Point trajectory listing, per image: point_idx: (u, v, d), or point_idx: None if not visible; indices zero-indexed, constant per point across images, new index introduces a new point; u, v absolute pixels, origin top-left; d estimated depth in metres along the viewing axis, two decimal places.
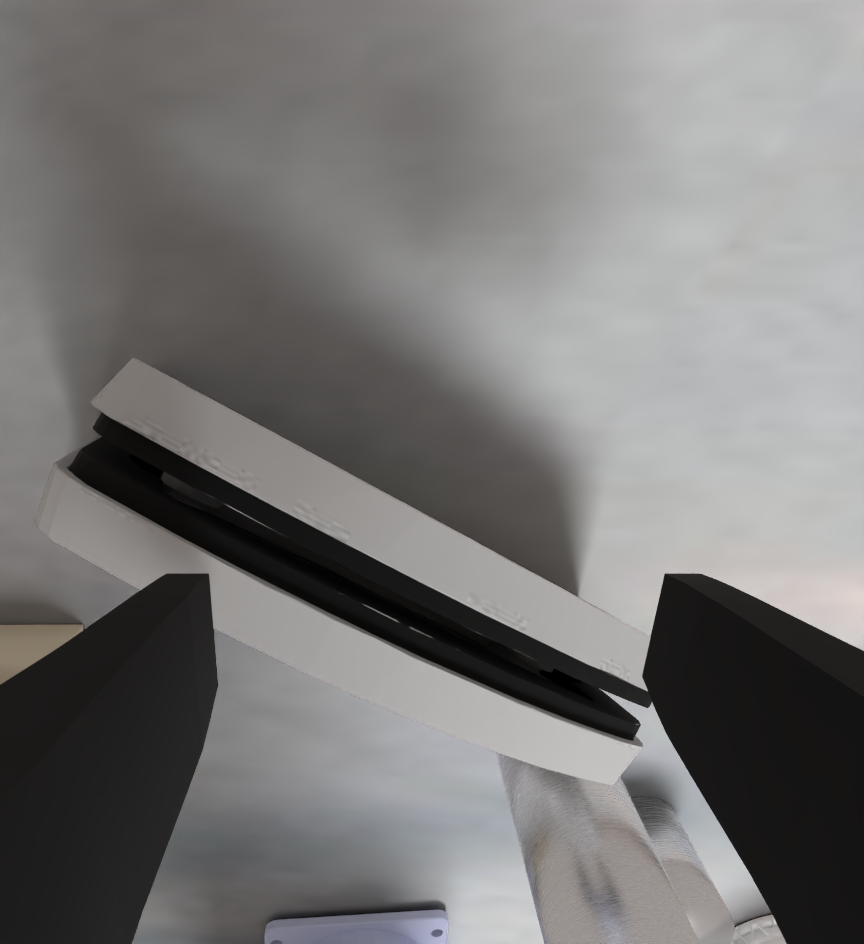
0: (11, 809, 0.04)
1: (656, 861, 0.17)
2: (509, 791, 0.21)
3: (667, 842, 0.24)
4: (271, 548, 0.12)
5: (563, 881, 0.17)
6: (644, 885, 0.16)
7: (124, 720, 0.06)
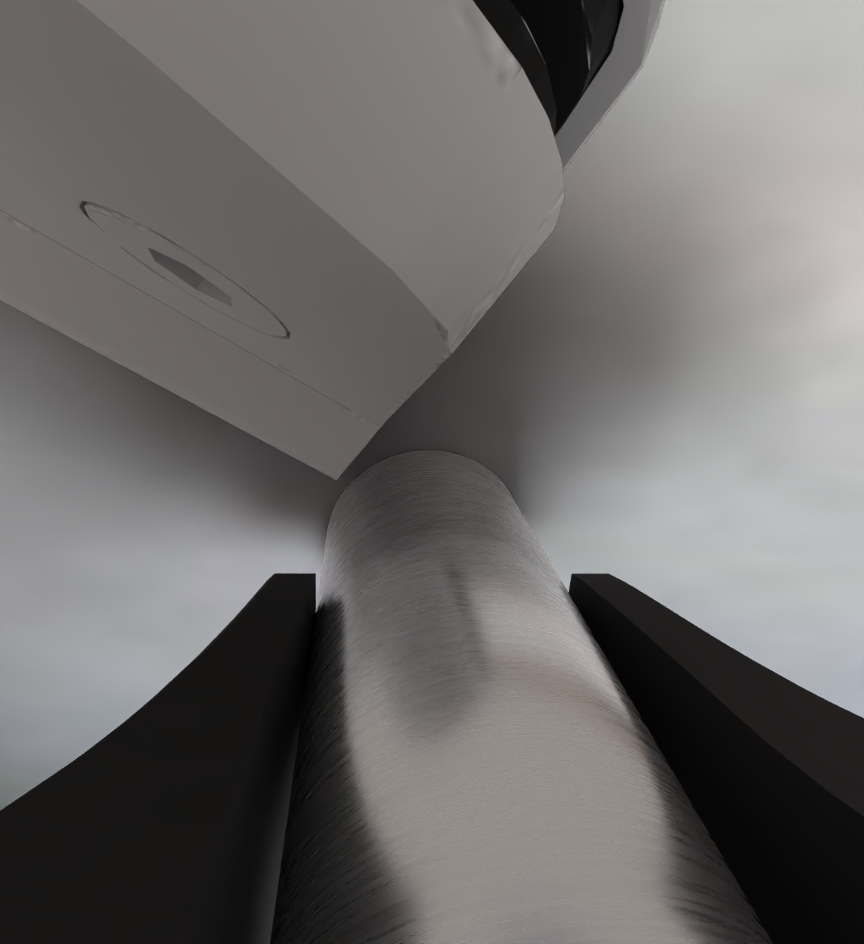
0: (239, 799, 0.04)
1: (640, 730, 0.06)
2: None
3: None
4: None
5: (332, 784, 0.05)
6: (592, 783, 0.04)
7: (278, 716, 0.06)
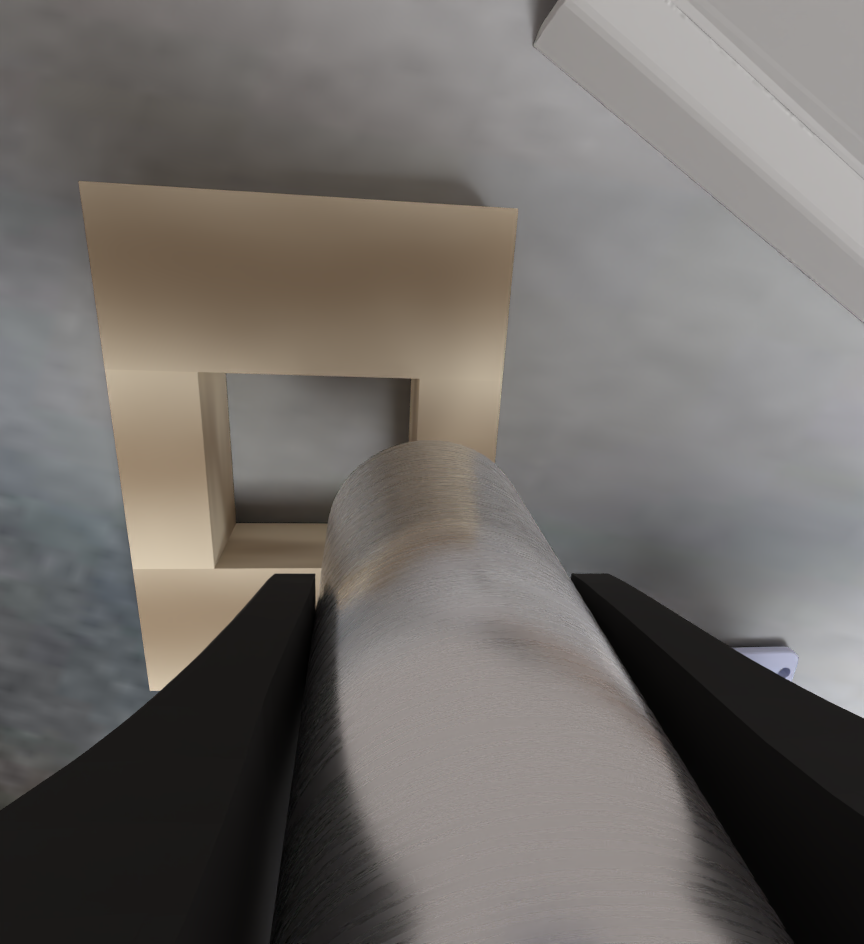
0: (239, 799, 0.04)
1: (647, 714, 0.06)
2: None
3: None
4: None
5: (339, 760, 0.05)
6: (602, 761, 0.04)
7: (278, 716, 0.06)
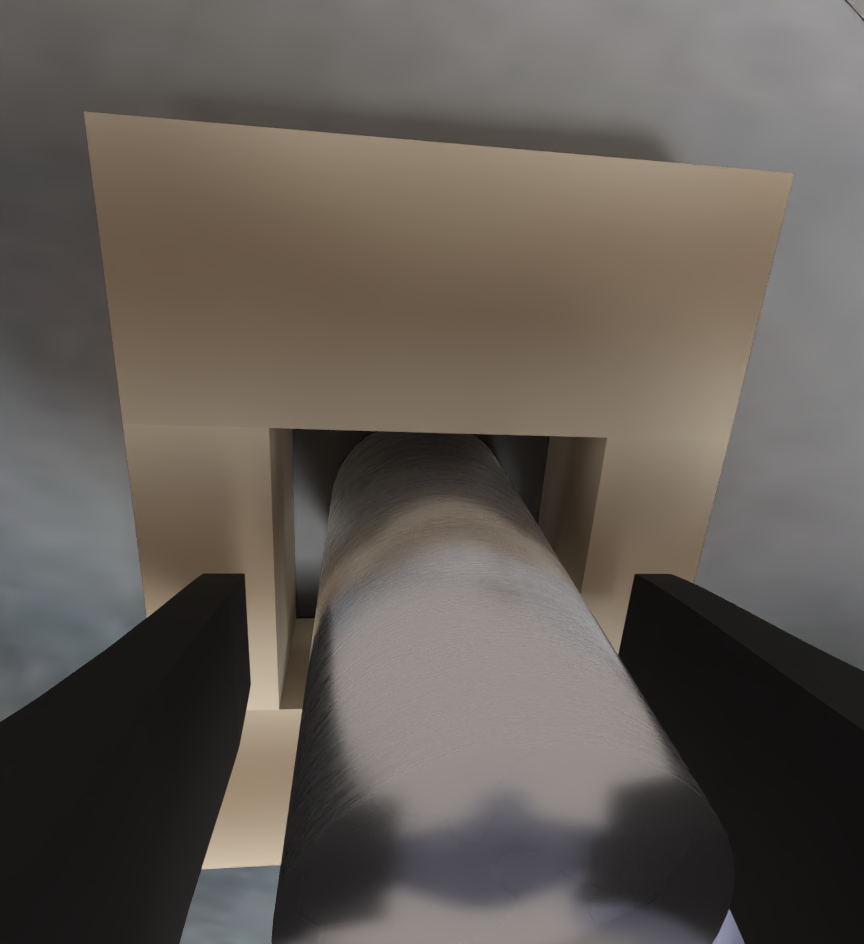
0: (89, 806, 0.04)
1: (592, 621, 0.07)
2: None
3: None
4: None
5: (345, 650, 0.06)
6: (547, 637, 0.06)
7: (177, 719, 0.06)
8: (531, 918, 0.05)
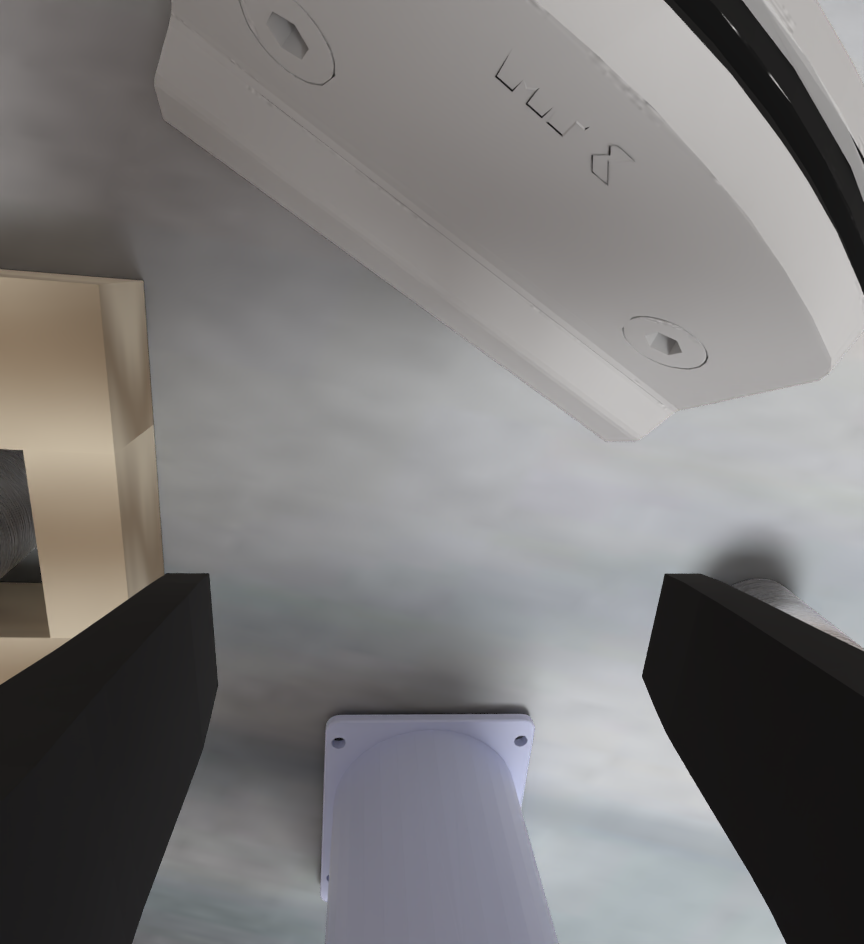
0: (11, 809, 0.04)
1: None
2: None
3: (801, 609, 0.20)
4: None
5: None
6: None
7: (123, 721, 0.06)
8: None
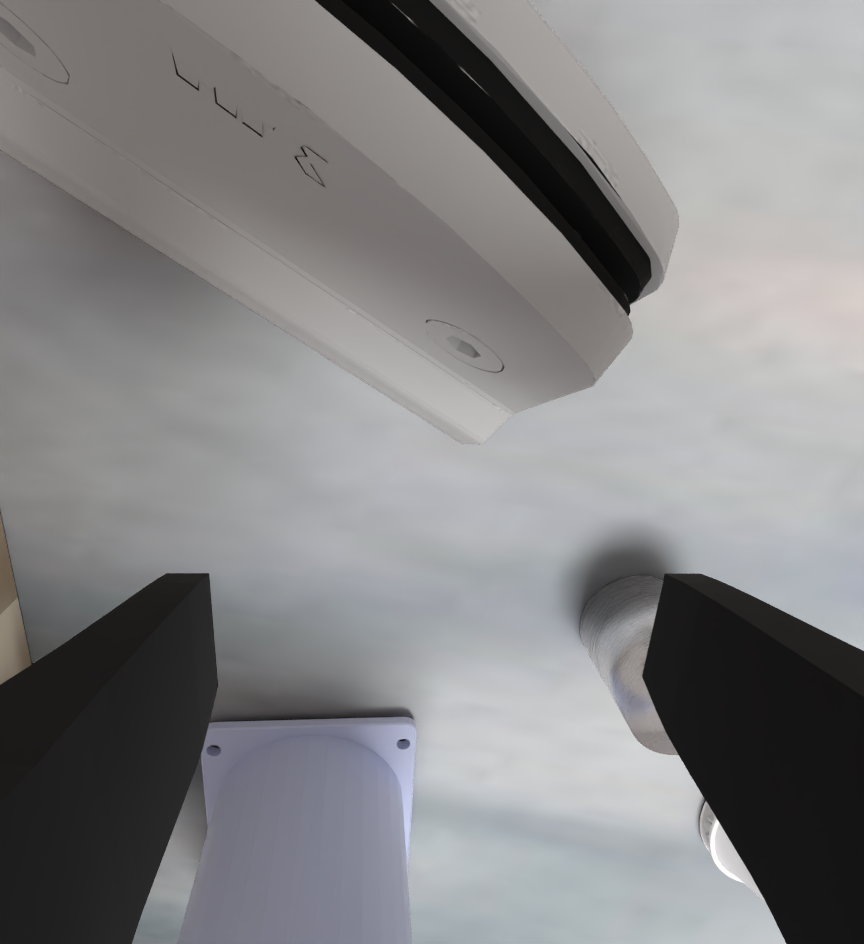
0: (11, 809, 0.04)
1: None
2: None
3: None
4: None
5: None
6: None
7: (124, 721, 0.06)
8: None
